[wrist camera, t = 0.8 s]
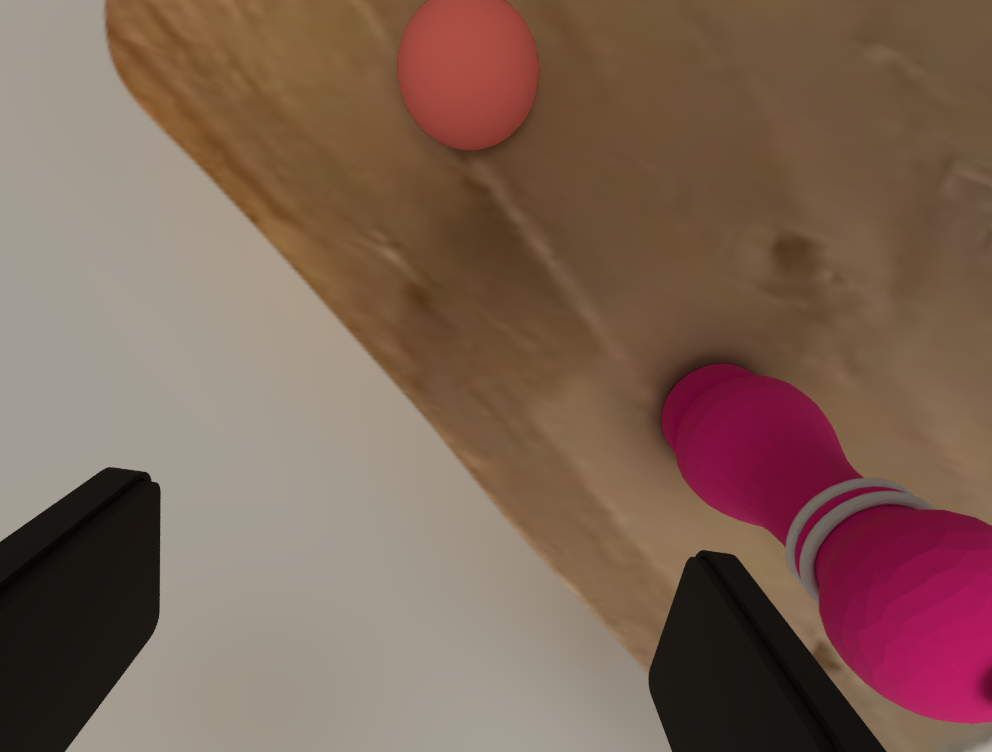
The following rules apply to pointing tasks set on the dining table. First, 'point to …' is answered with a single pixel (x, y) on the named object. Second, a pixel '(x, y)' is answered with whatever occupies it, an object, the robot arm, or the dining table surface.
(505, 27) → the ball
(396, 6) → the dining table surface
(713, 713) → the robot arm
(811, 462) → the pepper mill
